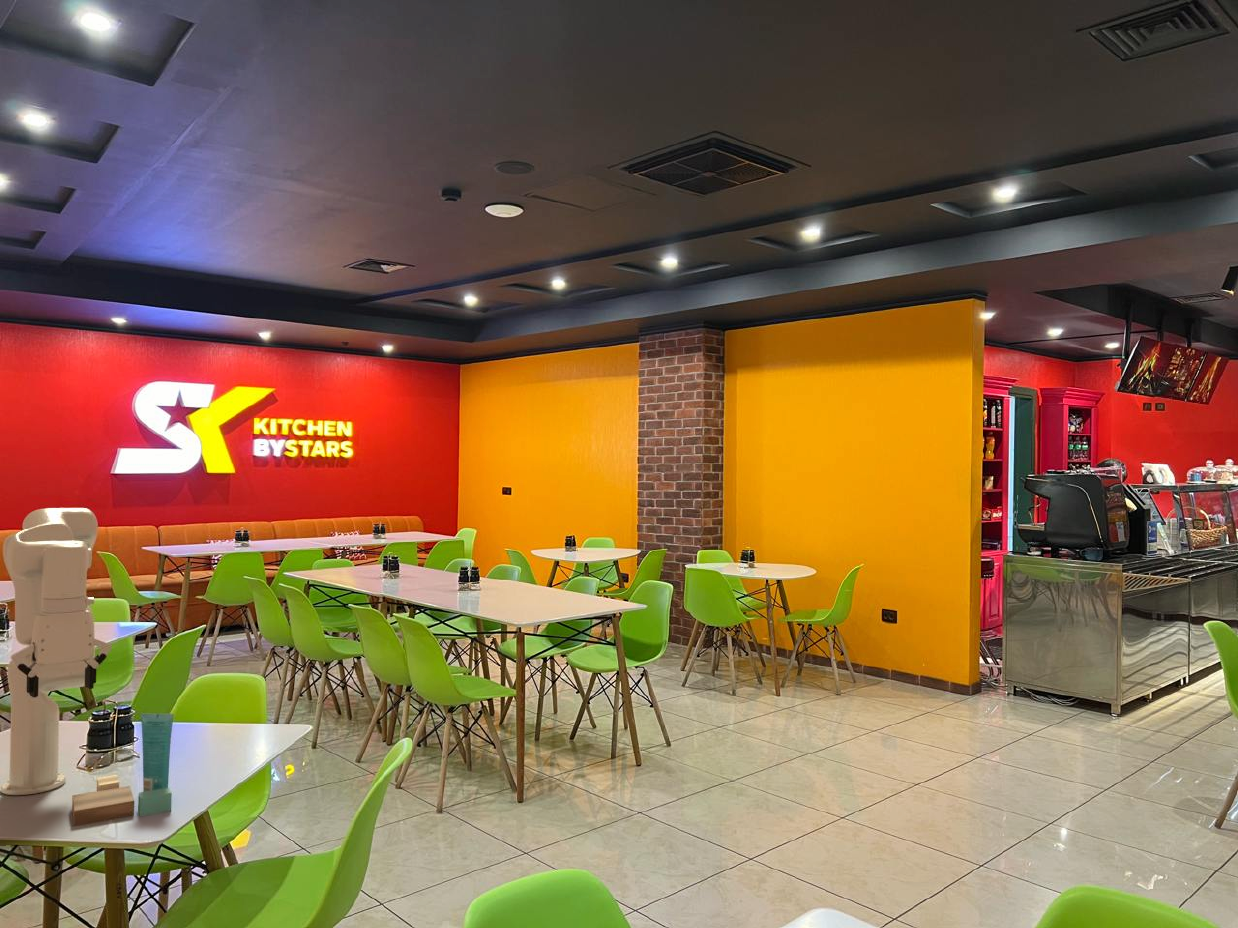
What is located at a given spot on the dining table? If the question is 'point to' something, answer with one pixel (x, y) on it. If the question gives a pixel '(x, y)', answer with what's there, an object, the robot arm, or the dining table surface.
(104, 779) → the beech block
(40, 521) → the robot arm
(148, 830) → the dining table surface
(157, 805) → the teal block
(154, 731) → the tube
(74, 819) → the plinth
